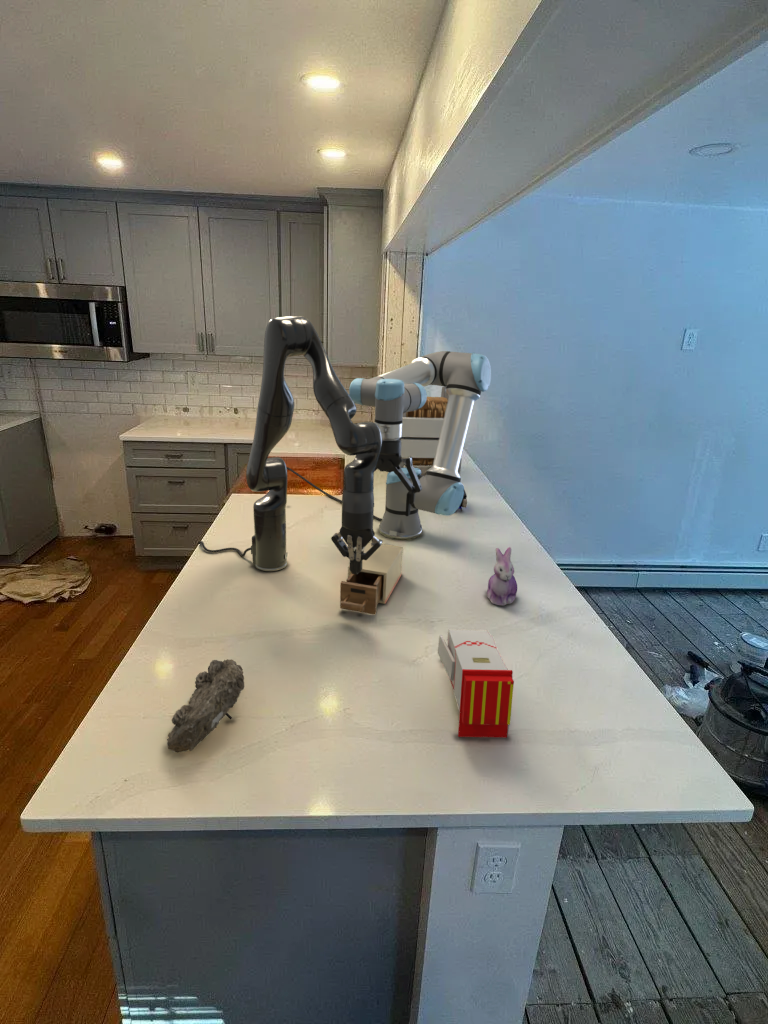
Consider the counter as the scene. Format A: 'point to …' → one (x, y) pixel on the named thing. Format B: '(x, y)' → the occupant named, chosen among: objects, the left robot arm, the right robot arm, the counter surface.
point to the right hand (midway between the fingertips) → (384, 511)
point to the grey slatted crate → (424, 431)
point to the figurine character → (463, 502)
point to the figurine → (502, 580)
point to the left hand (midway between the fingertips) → (355, 573)
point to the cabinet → (384, 566)
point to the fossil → (206, 705)
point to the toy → (478, 682)
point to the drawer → (361, 592)
